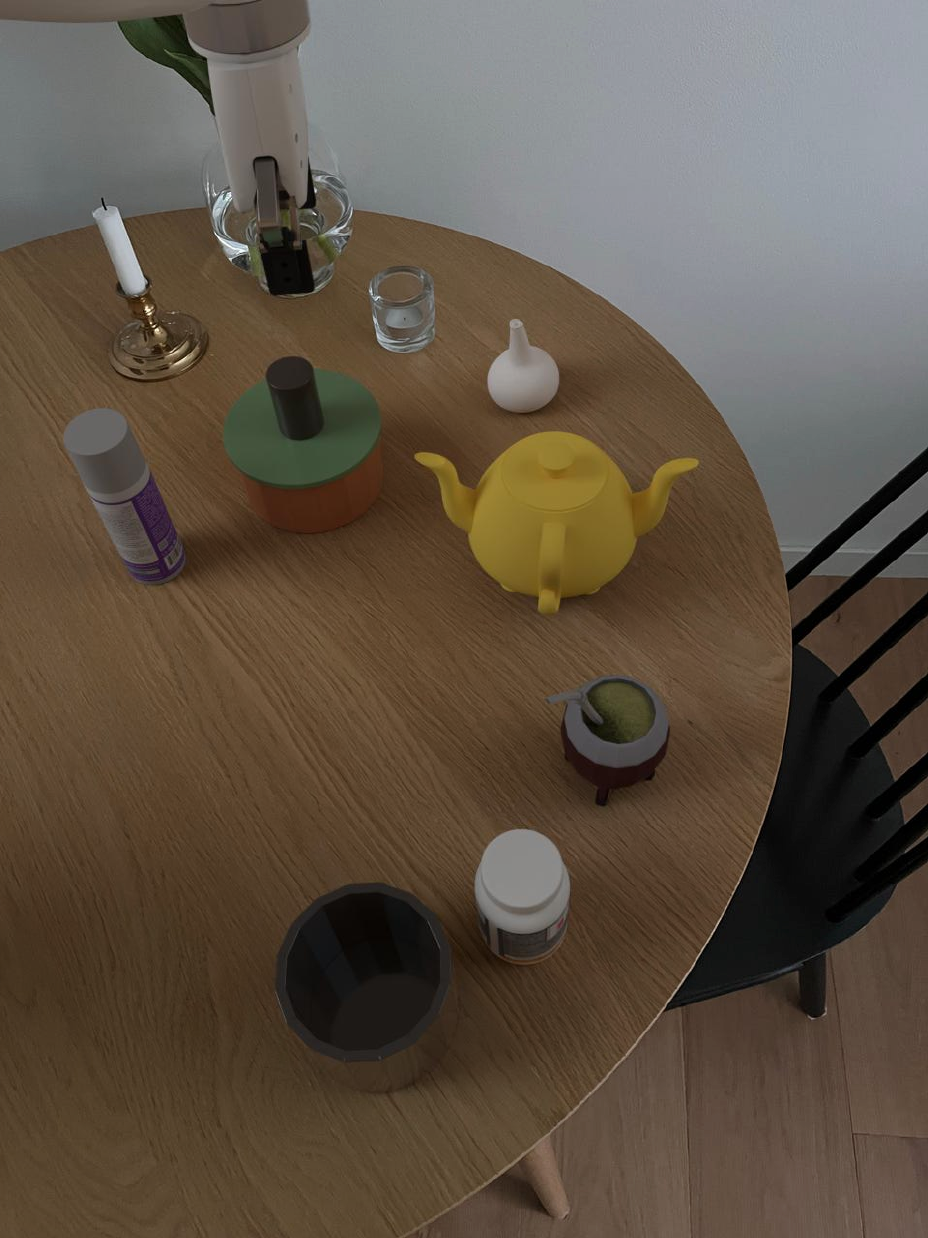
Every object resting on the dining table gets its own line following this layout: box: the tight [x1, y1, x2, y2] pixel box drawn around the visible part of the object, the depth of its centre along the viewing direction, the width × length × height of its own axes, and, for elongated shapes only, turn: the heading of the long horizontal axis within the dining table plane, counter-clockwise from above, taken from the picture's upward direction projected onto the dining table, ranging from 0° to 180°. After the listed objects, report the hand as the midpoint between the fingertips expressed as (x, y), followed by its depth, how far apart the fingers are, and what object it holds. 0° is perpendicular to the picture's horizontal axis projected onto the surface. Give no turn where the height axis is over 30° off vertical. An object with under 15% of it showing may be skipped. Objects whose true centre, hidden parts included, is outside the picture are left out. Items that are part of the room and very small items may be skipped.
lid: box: [222, 355, 383, 489], centre depth 82 cm, size 13×13×7 cm
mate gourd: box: [544, 674, 671, 807], centre depth 67 cm, size 8×8×15 cm
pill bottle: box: [474, 828, 572, 966], centre depth 64 cm, size 6×6×10 cm
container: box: [62, 407, 187, 586], centre depth 79 cm, size 5×5×15 cm
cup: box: [274, 881, 460, 1094], centre depth 62 cm, size 10×10×9 cm
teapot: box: [414, 430, 700, 616], centre depth 79 cm, size 20×15×12 cm
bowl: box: [237, 439, 384, 534], centre depth 87 cm, size 12×12×6 cm
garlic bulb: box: [487, 318, 560, 414], centre depth 91 cm, size 6×6×8 cm
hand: (294, 247), depth 78 cm, fingers open, 9 cm apart
